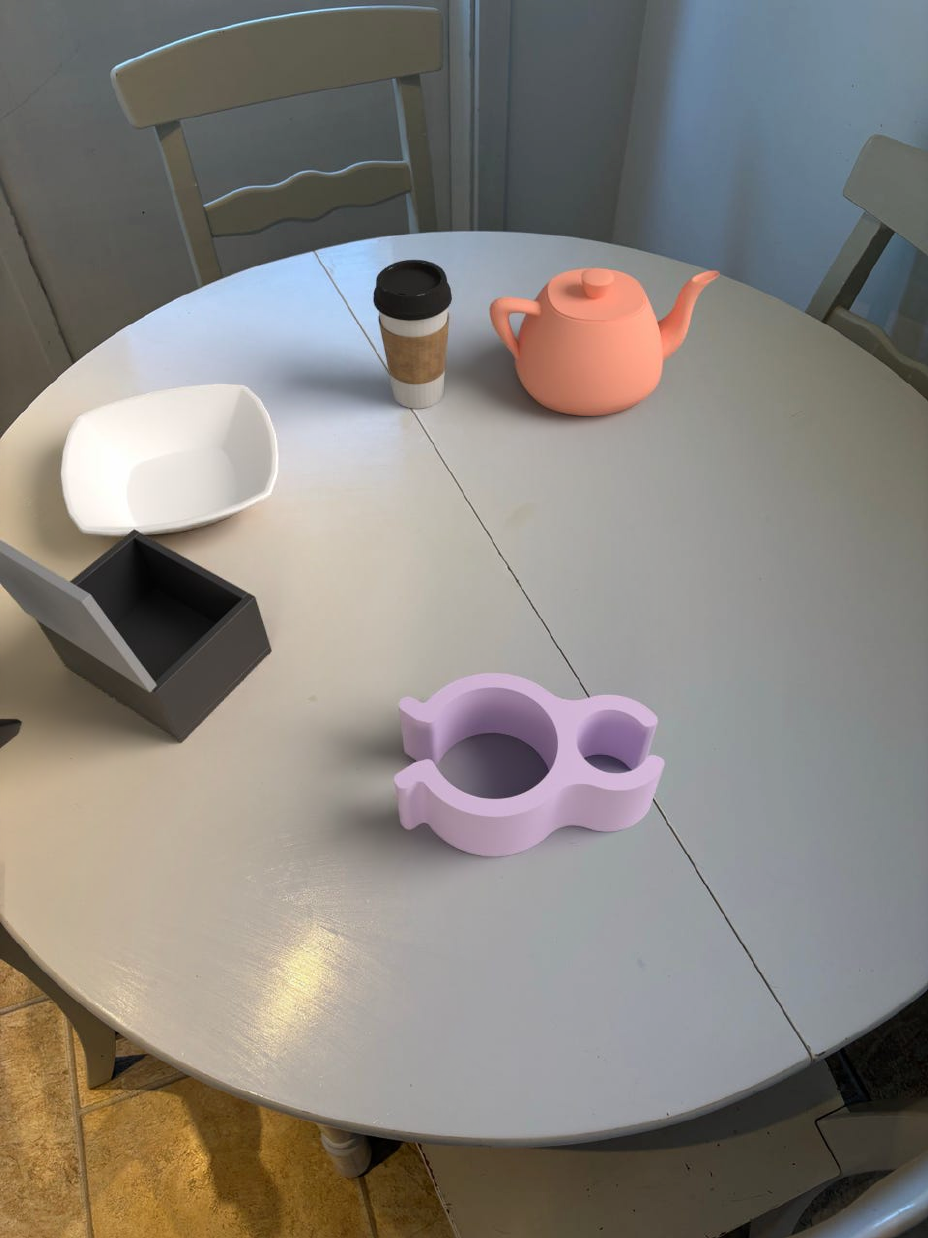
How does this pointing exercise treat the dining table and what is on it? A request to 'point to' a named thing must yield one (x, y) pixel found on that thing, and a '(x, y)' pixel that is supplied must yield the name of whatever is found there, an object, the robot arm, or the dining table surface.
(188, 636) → the grey hinged lid box
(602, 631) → the dining table surface
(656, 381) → the teapot
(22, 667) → the dining table surface
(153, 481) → the bowl
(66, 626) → the box lid
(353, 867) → the dining table surface
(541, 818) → the clip
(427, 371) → the coffee cup
